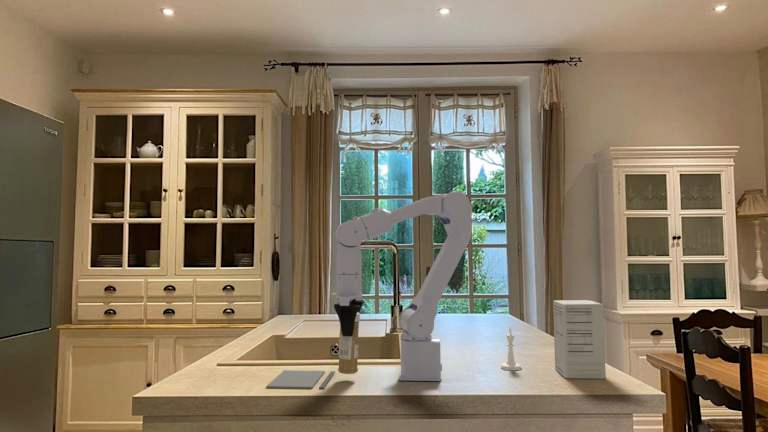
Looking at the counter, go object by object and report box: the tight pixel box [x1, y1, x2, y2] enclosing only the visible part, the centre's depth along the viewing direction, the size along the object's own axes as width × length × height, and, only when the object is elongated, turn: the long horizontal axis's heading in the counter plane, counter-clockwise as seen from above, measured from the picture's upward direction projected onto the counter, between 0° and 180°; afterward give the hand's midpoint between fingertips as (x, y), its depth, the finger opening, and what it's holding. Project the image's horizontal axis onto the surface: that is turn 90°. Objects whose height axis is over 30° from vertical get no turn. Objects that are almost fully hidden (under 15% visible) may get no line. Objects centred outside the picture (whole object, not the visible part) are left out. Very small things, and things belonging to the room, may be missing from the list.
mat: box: [265, 369, 326, 390], centre depth 121 cm, size 10×14×1 cm
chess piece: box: [500, 326, 522, 371], centre depth 131 cm, size 5×5×10 cm
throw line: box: [318, 370, 336, 390], centre depth 121 cm, size 1×14×1 cm, turn 175°
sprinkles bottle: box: [337, 312, 361, 375], centre depth 121 cm, size 5×5×14 cm
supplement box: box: [552, 299, 607, 380], centre depth 125 cm, size 10×9×17 cm
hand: (349, 334), depth 121 cm, fingers closed on sprinkles bottle, 4 cm apart
